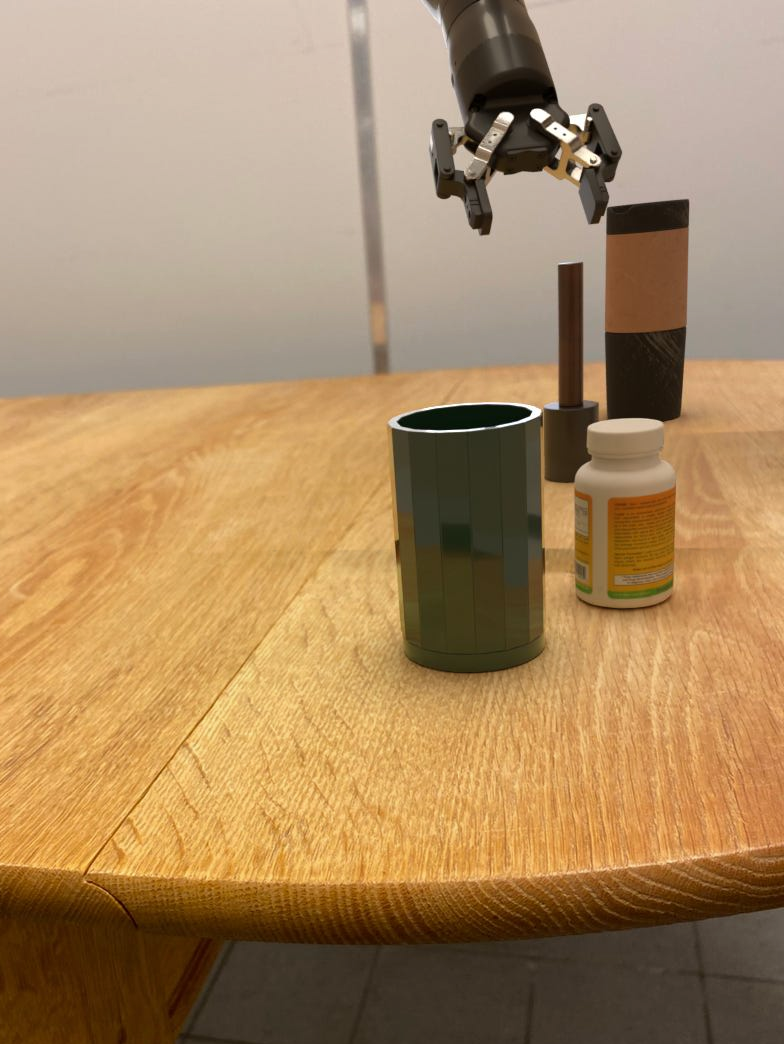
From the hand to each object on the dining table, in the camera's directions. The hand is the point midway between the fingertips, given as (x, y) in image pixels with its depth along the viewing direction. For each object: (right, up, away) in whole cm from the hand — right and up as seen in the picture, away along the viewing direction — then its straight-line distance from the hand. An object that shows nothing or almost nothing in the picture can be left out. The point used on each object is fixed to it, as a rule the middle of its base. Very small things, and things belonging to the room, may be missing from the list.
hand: (542, 221), depth 80 cm
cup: (-9, -32, -24) cm, 41 cm away
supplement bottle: (0, -29, -20) cm, 35 cm away
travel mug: (+16, -9, +27) cm, 33 cm away
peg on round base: (+2, -21, +1) cm, 21 cm away
